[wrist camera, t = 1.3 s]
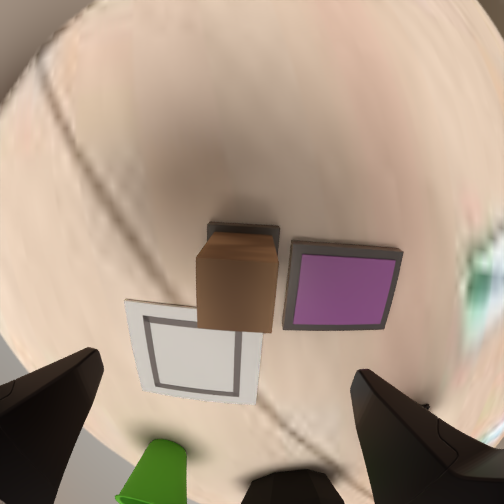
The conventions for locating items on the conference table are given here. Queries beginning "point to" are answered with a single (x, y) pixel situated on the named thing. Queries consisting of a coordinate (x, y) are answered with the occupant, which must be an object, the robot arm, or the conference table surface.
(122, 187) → the conference table surface
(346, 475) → the conference table surface
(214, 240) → the stamp
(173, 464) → the cup
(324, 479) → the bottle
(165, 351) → the frame
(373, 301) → the ink pad
